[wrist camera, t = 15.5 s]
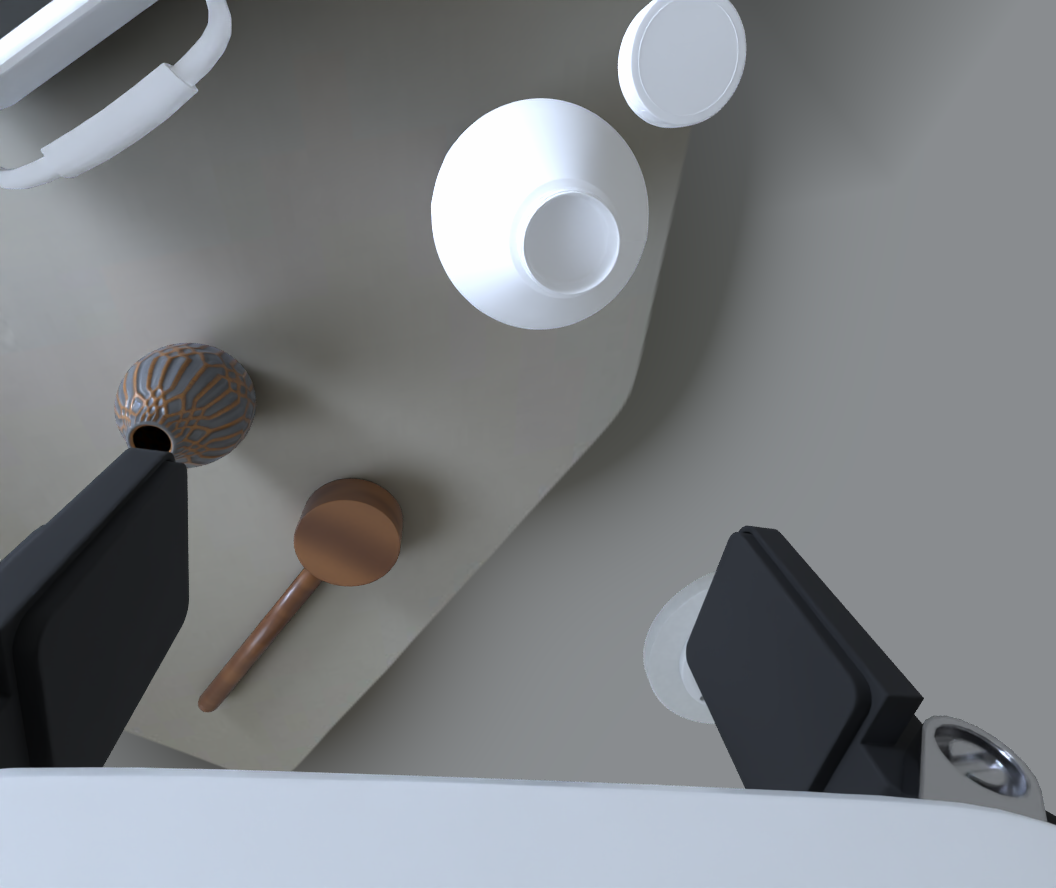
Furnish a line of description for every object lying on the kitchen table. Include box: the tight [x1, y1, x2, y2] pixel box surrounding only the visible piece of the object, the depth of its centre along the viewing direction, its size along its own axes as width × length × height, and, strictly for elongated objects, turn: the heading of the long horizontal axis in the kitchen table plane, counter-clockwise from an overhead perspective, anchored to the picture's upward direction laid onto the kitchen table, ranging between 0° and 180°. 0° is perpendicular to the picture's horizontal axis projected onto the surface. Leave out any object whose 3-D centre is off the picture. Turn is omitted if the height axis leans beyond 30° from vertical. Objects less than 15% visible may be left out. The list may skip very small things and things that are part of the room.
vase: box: [115, 343, 256, 468], centre depth 35 cm, size 7×7×9 cm
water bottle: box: [431, 0, 746, 330], centre depth 25 cm, size 9×6×25 cm
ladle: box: [198, 479, 403, 712], centre depth 46 cm, size 24×7×3 cm, turn 140°
